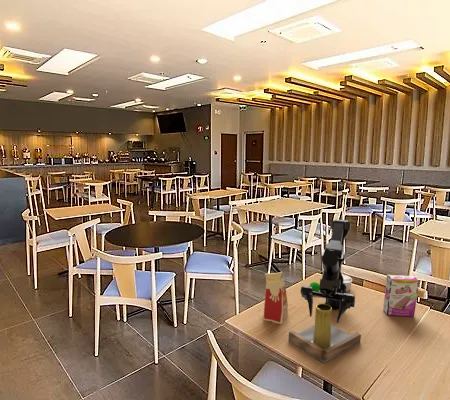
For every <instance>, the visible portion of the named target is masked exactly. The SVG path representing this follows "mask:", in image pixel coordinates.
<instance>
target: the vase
mask: <svg viewBox="0 0 450 400" xmlns="http://www.w3.org/2000/svg"><path fill="white" fill-rule="evenodd" d="M332 315H333V309H332V307H331V306H330V305H328V304H323V302H321V303H317V304H316V305H315V317H314V326H315V327H314V338H313V344H315V345H317V346H318V347H320V348H321V349H323V350H325V349H327V348H329V347H331V325H332Z"/></svg>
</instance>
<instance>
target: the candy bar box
mask: <svg viewBox="0 0 450 400" xmlns="http://www.w3.org/2000/svg"><path fill="white" fill-rule="evenodd" d="M419 283H420V281H419V279H418V278H416V277H415V275H401V274H400V275H398V274H386V281H385V290H384V299H383V308H382V310H383V312H384V313H385V315H386V316H393V317H394V316H395V317H409V318H411V317H412V318H414V317H415V314H416V313H415V312H416V306H417V297H418V290H419V285H420V284H419Z"/></svg>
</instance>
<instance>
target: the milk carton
mask: <svg viewBox="0 0 450 400" xmlns="http://www.w3.org/2000/svg"><path fill="white" fill-rule="evenodd" d="M264 276H265V282H266V283H265V293H264V304H263V305H264V306H263V318H262V319H263V321H267V322H271V321H272V323H274V322H275V323H274V324H279V325H282V324H283V322H285V320H286V319H287V317H288V314H289V308H288V307H289V306H288V305H289V304H288V295H287V289H286V283H285V278H284V275H283V271H280V272H274V273H264ZM286 316H287V317H286Z"/></svg>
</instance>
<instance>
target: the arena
mask: <svg viewBox="0 0 450 400" xmlns="http://www.w3.org/2000/svg"><path fill="white" fill-rule="evenodd" d="M314 327H315V325H313V326H311V327H308V328H306V329H304V330H302V331H299V332H296V331H294V330H292V329H291V330H289V331H288V340H289V342H291V343H292V344H294V345H295V346H297V347H299V348H300V349H301V350H303V351H304V352H306V353H307V354H309V355H311V356H312V357H313V358H315V359H316V360H318V361H319V362H321V363H323V364H327V363H328V362H330V361H332V360H333V359H335V358H336V357H338V356H340V355H342V354H344V353H346V352H347V351H349V350H351V349H352V348H355V347H356V346H358V345H360V344H361V338H362V334H361V333H359V332H357V331H356V332H355V333H353V334H349V333H348V332H347V331H344V330H342V329H340V328H338V327H336V326H335V325H333V324H331V347H329V348H327V349H325V350H323V349H321V348H320V347H318V346H317V345H315V344H313V338H314Z"/></svg>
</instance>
